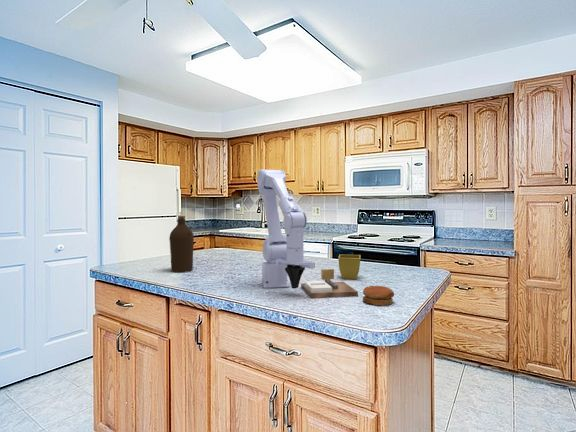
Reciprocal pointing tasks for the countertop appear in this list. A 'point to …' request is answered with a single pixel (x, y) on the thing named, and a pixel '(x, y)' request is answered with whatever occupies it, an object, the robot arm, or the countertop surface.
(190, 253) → the olive oil
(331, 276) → the wooden mallet
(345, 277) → the flower pot
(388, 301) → the burger
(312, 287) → the cover
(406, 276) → the countertop surface
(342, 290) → the board
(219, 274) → the countertop surface
